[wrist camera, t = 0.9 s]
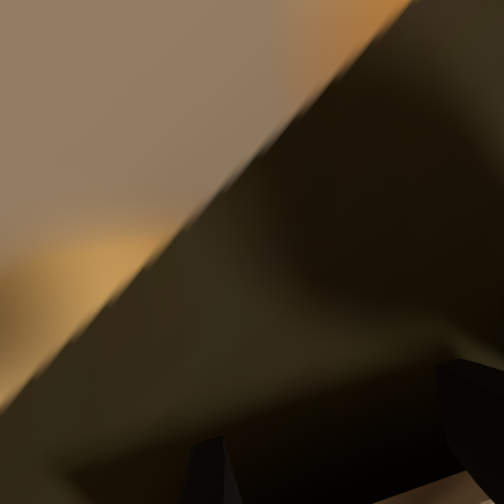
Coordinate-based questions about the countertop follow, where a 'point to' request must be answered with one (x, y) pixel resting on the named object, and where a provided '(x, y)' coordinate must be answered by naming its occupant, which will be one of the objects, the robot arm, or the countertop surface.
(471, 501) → the plank
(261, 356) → the countertop surface
